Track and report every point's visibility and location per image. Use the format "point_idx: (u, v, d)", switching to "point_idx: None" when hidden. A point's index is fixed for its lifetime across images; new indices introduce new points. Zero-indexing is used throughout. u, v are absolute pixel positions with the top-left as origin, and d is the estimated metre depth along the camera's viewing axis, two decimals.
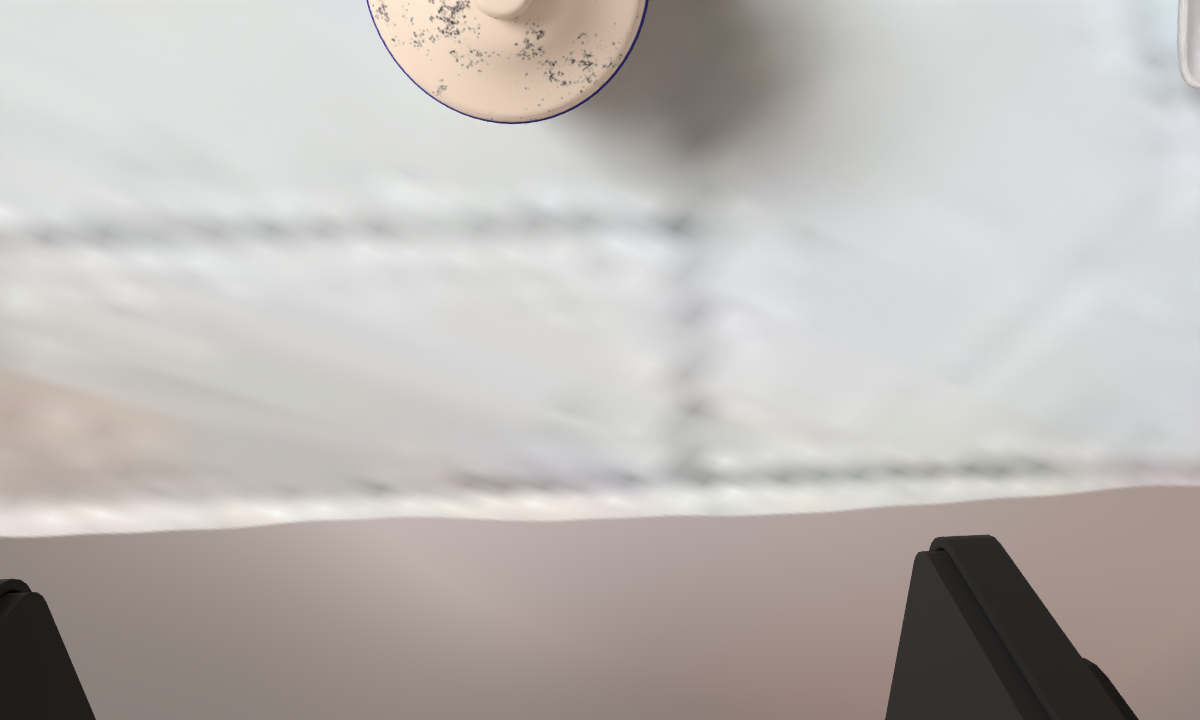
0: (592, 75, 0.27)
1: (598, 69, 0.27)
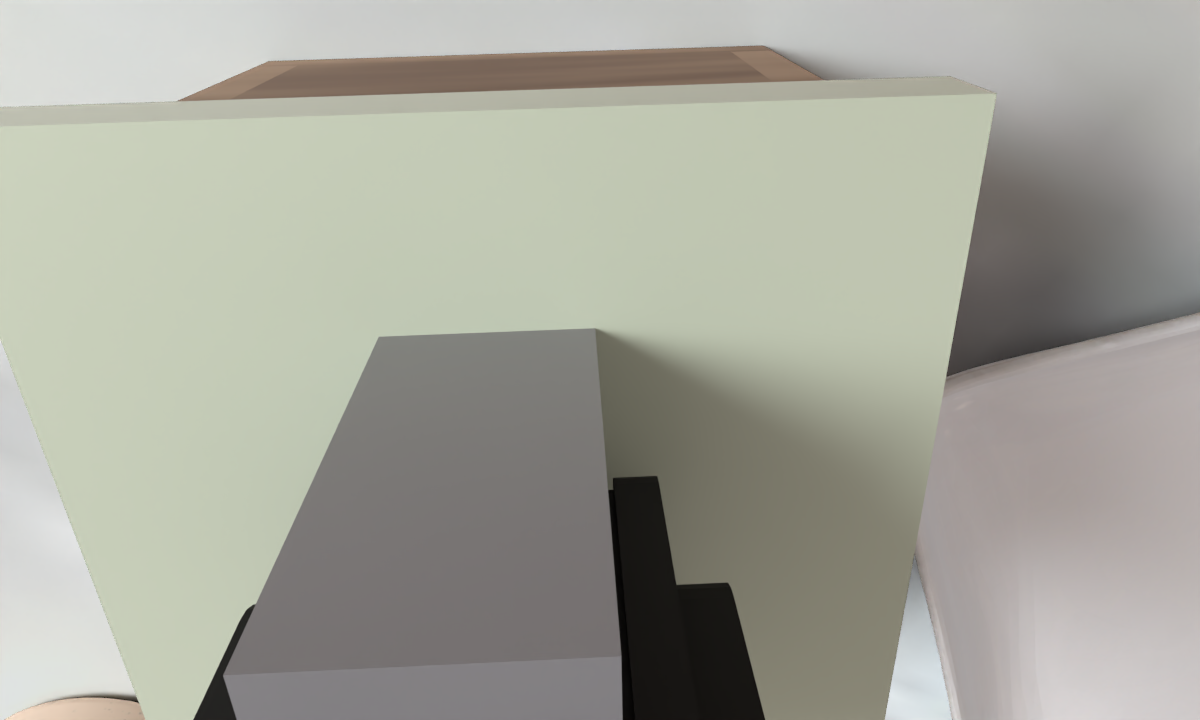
0: None
1: None
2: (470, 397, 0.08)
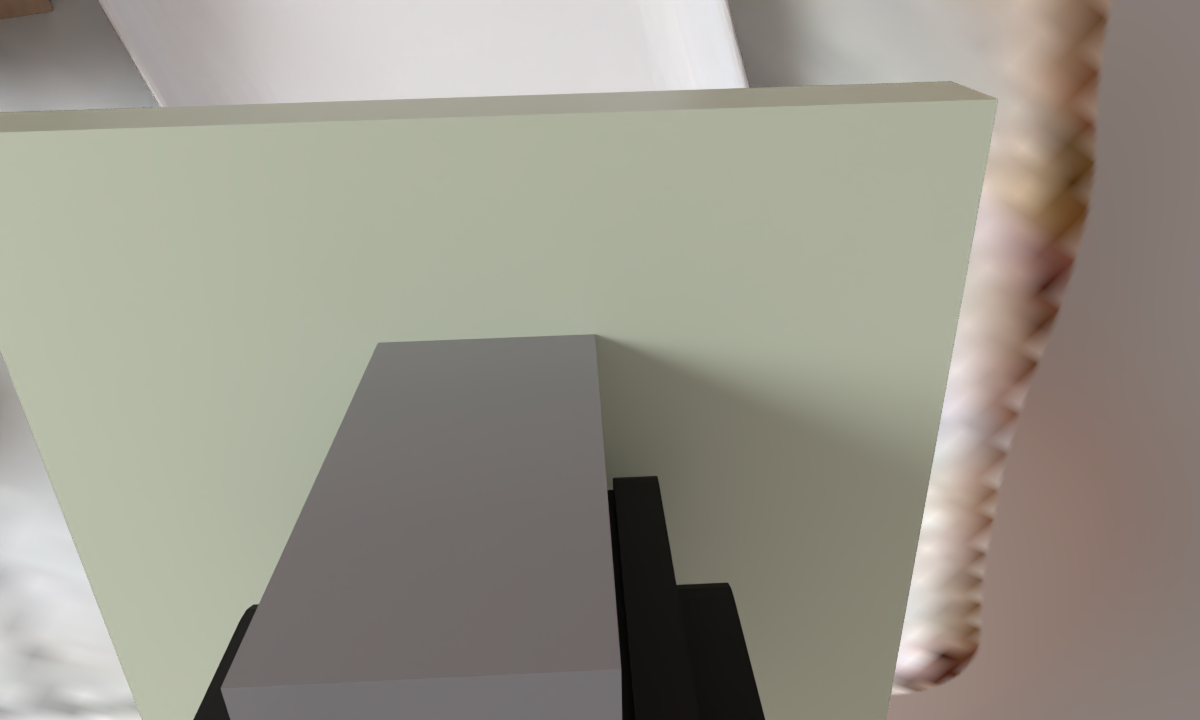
0: None
1: None
2: (470, 404, 0.08)
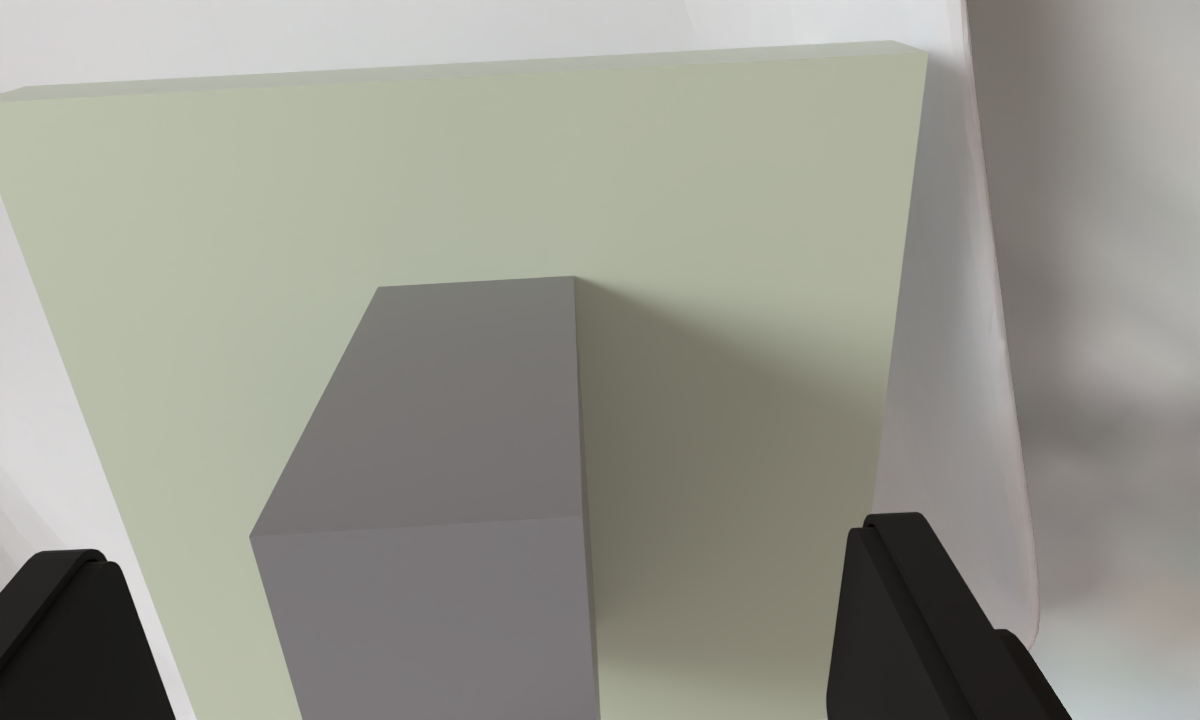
0: None
1: None
2: (459, 332, 0.09)
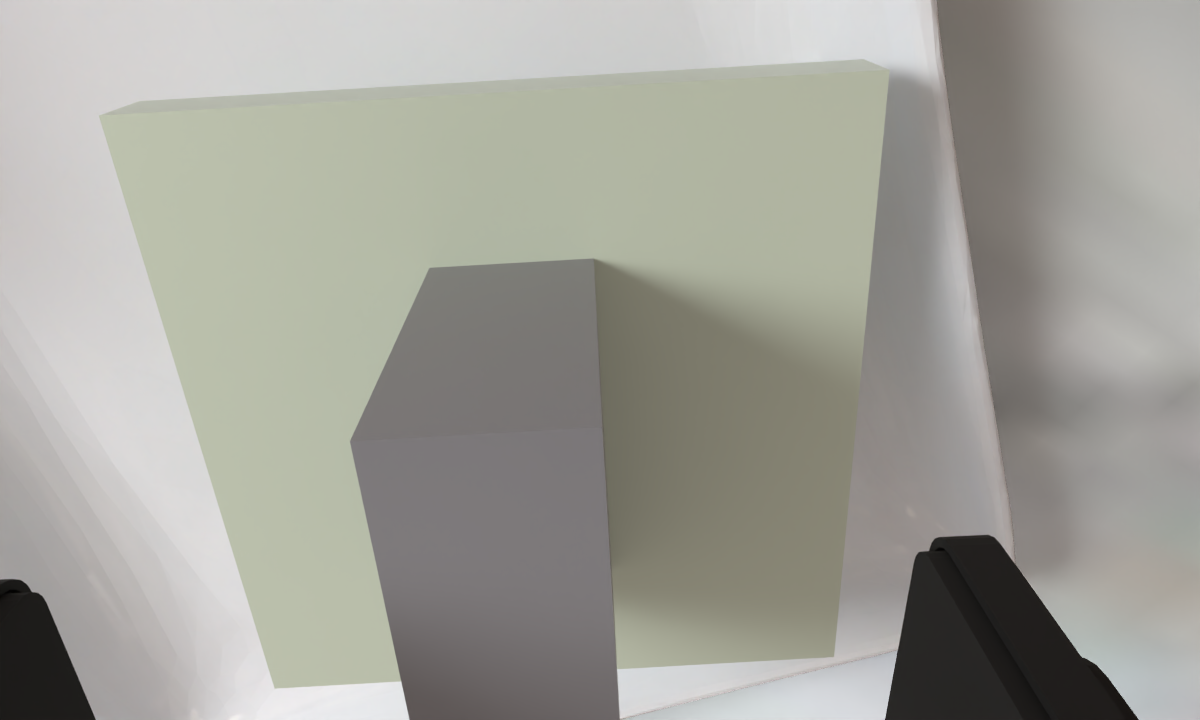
0: None
1: None
2: (500, 301, 0.11)
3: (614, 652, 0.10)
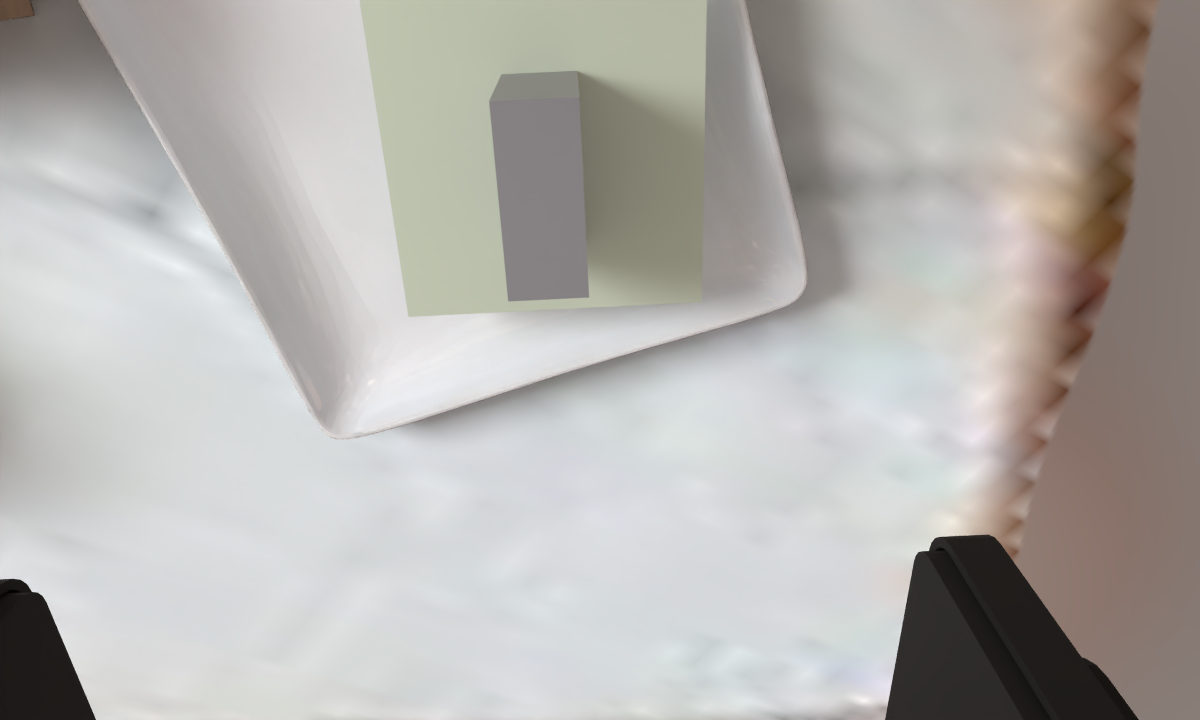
0: None
1: None
2: (536, 79, 0.26)
3: (584, 202, 0.25)
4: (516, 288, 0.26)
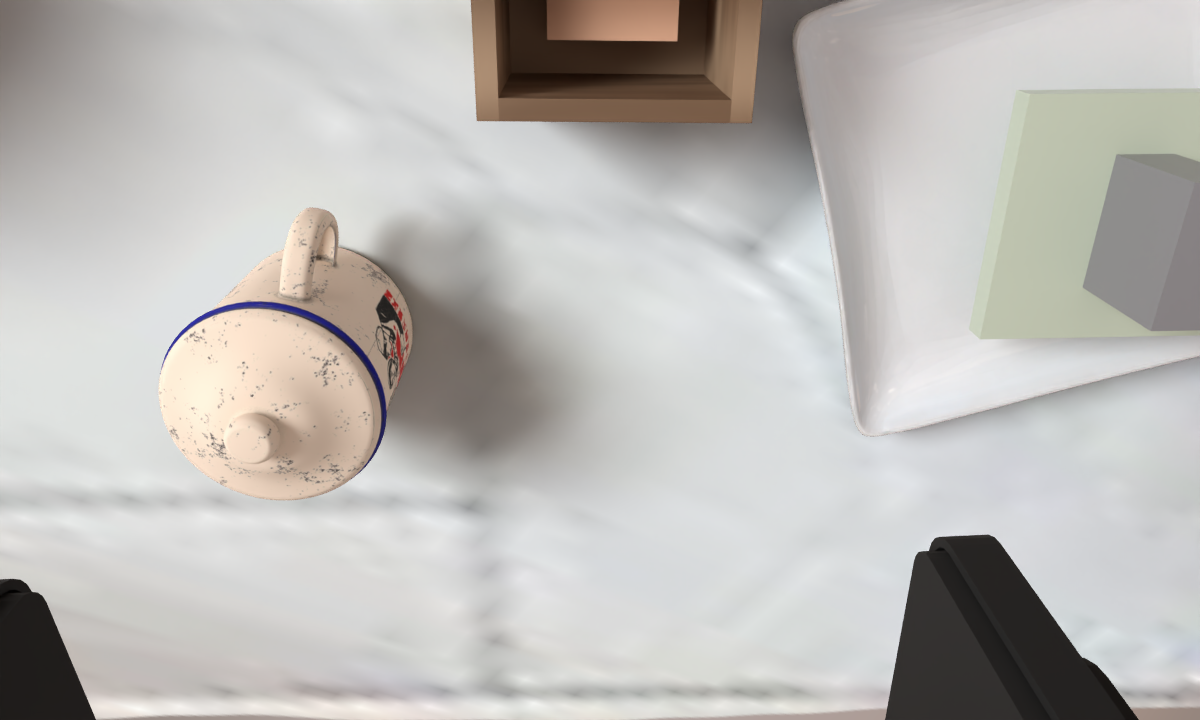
0: (340, 476, 0.35)
1: (344, 473, 0.35)
2: (1167, 161, 0.35)
3: None
4: (1161, 321, 0.34)
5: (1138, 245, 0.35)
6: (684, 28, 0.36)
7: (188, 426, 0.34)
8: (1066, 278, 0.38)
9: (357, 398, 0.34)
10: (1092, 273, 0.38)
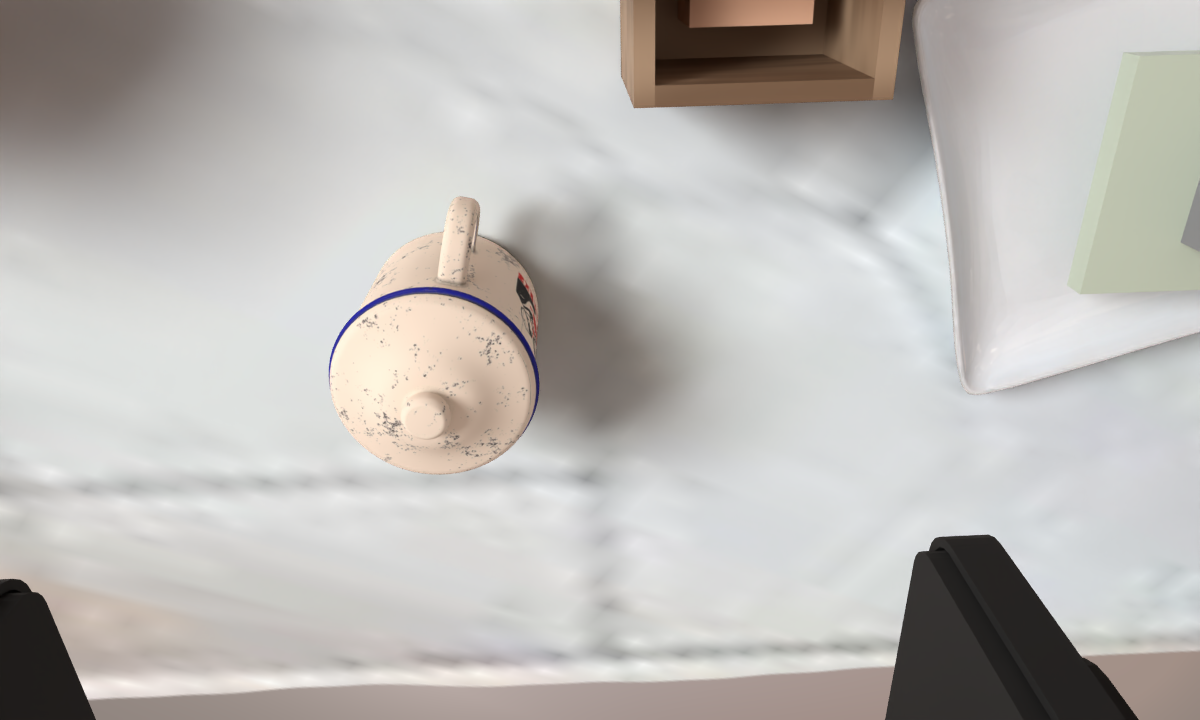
0: (497, 449, 0.38)
1: (501, 446, 0.38)
2: None
3: None
4: None
5: None
6: None
7: (359, 407, 0.36)
8: (1165, 233, 0.40)
9: (517, 374, 0.36)
10: (1191, 228, 0.39)
